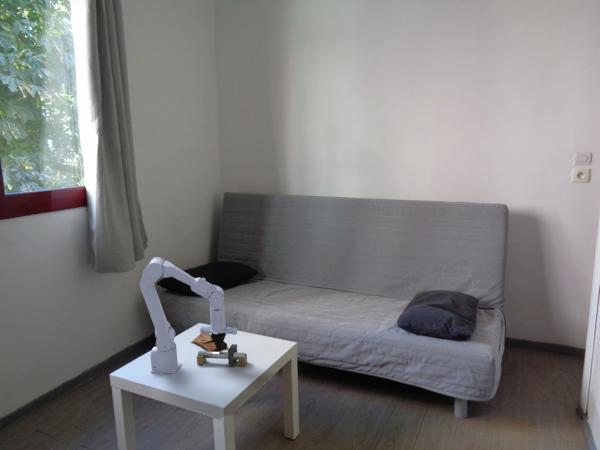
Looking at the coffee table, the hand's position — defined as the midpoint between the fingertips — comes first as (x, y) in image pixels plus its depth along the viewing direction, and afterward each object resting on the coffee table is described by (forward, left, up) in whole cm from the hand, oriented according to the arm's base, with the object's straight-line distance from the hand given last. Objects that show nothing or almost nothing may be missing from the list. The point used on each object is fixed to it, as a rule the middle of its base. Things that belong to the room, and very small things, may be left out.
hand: (219, 350), depth 180 cm
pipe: (+1, 0, -6) cm, 6 cm away
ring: (+5, 0, -6) cm, 8 cm away
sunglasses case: (-11, +16, -6) cm, 21 cm away
